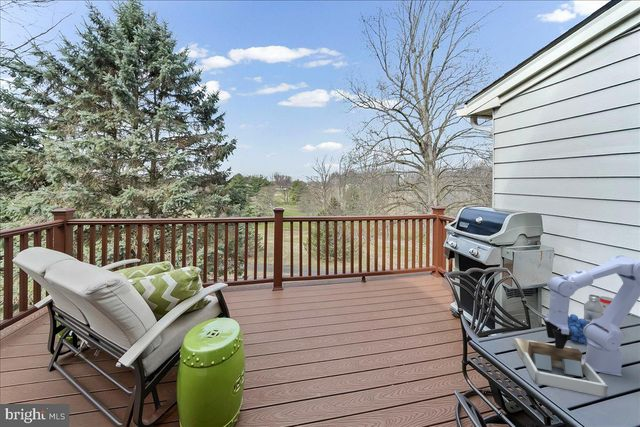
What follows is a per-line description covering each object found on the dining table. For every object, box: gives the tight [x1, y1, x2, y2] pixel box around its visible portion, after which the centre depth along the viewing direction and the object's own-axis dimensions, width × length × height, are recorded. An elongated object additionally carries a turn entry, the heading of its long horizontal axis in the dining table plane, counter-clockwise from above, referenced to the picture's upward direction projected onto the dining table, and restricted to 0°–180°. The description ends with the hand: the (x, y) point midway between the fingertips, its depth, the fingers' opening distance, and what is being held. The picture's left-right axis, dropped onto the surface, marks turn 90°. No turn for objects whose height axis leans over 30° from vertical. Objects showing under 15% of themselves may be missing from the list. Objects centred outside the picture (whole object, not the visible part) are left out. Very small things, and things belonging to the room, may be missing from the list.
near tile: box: [562, 359, 584, 378], centre depth 109 cm, size 5×5×2 cm
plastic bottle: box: [583, 294, 603, 324], centre depth 133 cm, size 6×7×20 cm
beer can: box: [599, 296, 614, 331], centre depth 140 cm, size 6×6×16 cm
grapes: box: [567, 313, 588, 344], centre depth 130 cm, size 12×7×12 cm, turn 36°
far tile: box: [533, 353, 553, 371], centre depth 112 cm, size 5×5×2 cm
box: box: [522, 352, 608, 398], centre depth 106 cm, size 20×13×4 cm, turn 70°
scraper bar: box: [528, 340, 583, 362], centre depth 113 cm, size 16×3×4 cm, turn 70°
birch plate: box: [513, 337, 584, 373], centre depth 119 cm, size 20×13×3 cm, turn 70°
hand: (555, 342), depth 113 cm, fingers open, 7 cm apart
